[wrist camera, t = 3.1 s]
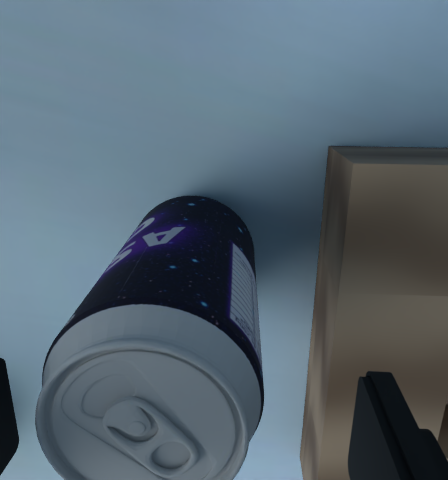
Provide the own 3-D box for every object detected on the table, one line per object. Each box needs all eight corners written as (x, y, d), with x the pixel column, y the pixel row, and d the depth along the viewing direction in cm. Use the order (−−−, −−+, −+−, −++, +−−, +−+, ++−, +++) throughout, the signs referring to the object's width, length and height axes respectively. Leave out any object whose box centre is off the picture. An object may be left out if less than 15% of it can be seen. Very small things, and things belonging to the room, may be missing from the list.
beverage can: (198, 165, 20) (139, 274, 8) (277, 253, 21) (318, 450, 10) (113, 242, 21) (-34, 422, 10) (192, 319, 22) (142, 557, 11)
